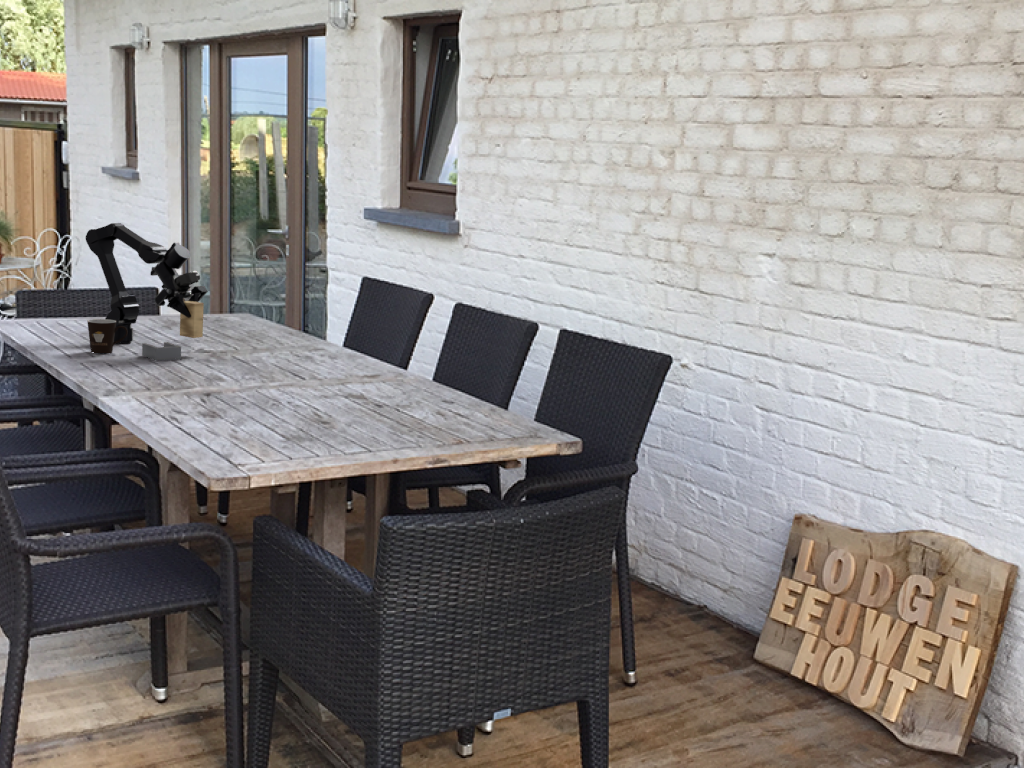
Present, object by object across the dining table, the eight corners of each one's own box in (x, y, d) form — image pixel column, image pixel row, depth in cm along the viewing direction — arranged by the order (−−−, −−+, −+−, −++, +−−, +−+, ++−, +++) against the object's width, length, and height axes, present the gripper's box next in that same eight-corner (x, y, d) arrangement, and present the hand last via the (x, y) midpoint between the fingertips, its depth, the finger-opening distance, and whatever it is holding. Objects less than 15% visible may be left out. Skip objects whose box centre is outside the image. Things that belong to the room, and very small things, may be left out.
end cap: (142, 355, 380) (142, 343, 380) (167, 354, 386) (167, 342, 385) (155, 360, 373) (155, 348, 372) (180, 359, 379) (181, 346, 378)
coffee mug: (81, 352, 379) (81, 320, 377) (100, 349, 387) (100, 318, 385) (111, 356, 375) (111, 325, 373) (129, 353, 383) (129, 322, 381)
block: (179, 335, 387) (180, 301, 385) (188, 334, 390) (189, 300, 388) (193, 338, 384) (194, 303, 382) (202, 337, 388) (203, 303, 385)
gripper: (162, 263, 376) (188, 303, 374) (204, 261, 393) (229, 299, 390) (143, 285, 382) (168, 324, 379) (185, 282, 398) (209, 319, 395)
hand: (194, 316), depth 385 cm, fingers closed on block, 4 cm apart
